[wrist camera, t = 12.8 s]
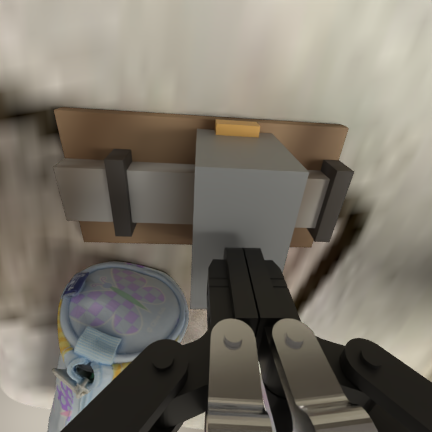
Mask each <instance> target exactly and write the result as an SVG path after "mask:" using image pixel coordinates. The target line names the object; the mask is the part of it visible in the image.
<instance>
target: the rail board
mask: <svg viewBox="0 0 432 432" xmlns="http://www.w3.org/2000/svg"><path fill="white" fill-rule="evenodd" d="M54 113H55V117H56V122H57V126H58V130H59V135H60V139H61V144H62V148H63V152H64V157H65V159H63V160H62V161H61V162H59V163H58V164H56V165H55V166H54V167H53V169H54V173H55V177H56V181H57V185H58V188H59V192H60V196H61V200H62V204H63V208H64V212H65V216H66V220H67V221H79V222H80V227H81V231H82V235H83V240H84V242H108V243H149V244H190V245H192V243H193V213H194V183H195V158H196V137H197V129H209V130H215V119H220V120H235V121H250V122H257V123H258V124H259V125H260V132H259V133H272V134H273V135H274V136H275V137H276V138H277V139H278V140H279V141H280V142H281V143H282V144H283V145H284V146H285V147H286V149H287V150H288V151H289V152H290V153H291V154H292V155H293V156H294V157H295V158H296V159H297V160H298V161H299V162H300V163H301V164H302V165H303V166H304V167H305V168H306V169H307V171H308V172H309V175H308V179H307V182H306V186H305V190H304V194H303V197H302V201H301V205H300V209H299V212H298V216H297V220H296V224H295V228H294V231H293V235H292V239H291V243H290V246H289V247H311V246H312V243H313V240H314V241H315V242H329V241H330V239H331V236H332V233H333V230H334V227H335V225H336V222H337V219H338V216H339V213H340V210H341V208H342V205H343V202H344V199H345V196H346V193H347V191H348V188H349V185H350V182H351V179H352V176H353V174H354V171H353V170H351V169H350V168H348V167H347V166H346V165H344V164H343V163H342V162H340V161H339V157H340V154H341V151H342V148H343V145H344V141H345V138H346V135H347V132H348V129H349V128H347V127H345V126H343V125H340V124H324V123H308V122H292V121H276V120H260V119H244V118H228V117H212V116H196V115H180V114H164V113H148V112H132V111H116V110H100V109H84V108H68V107H61V108H58V109H55V110H54Z"/></svg>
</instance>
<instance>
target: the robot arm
mask: <svg viewBox="0 0 432 432" xmlns="http://www.w3.org/2000/svg"><path fill="white" fill-rule="evenodd" d="M207 324H208V330H207V332H206V333H205V334H204V335H203V336H202V337H201V338H200V339H198V340H196V341H194V342H191V343H188V344H185V345H181V344H180V343H179V342H177V341H175V340H171V339H161V340H158V341H155V342H153V343H151V344H150V345H148V346H147V347H146V348H145V349H144V350H143V351H142V352H141V353H140V354H139V355H138V356H137V357H136V358H135V359H134V360H133V361H132V362H131V363H130V364H129V365H128V366H127V367H126V368H125V369H124V370H123V371H122V372H121V373H120V374H119V375H117V376H116V377H115V378H114V379H113V380H112V381H111V382H110V383H109V384H108V385H107V386H106V387H105V388H104V389H103V390H102V391H101V392H100V393H99V394H98V395H97V396H96V397H95V398H94V399H93V400H92V401H91V402H90V403H89V404H88V405H87V406H86V407H85V408H84V409H83V410H82V411H81V412H80V413H79V414H78V415H77V416H76V417H75V418H74V419H73V420H71V421H70V422H69V423H68V424H67V425H66V426H65V427H64V428H63V429H62V430H61V431H60V432H177V431H178V430H179V428H180V427H181V426H182V424H183V422H184V421H186V420H188V419H190V418H193V417H195V416H197V415H199V414H201V413H204V412H205V424H204V432H432V382H430V381H429V380H427V379H426V378H424V377H423V376H422V375H420V374H419V373H417V372H416V371H414V370H413V369H412V368H410V367H409V366H407V365H406V364H404V363H403V362H402V361H400V360H399V359H397V358H396V357H394V356H393V355H392V354H390V353H389V352H387V351H386V350H384V349H383V348H381V347H380V346H379V345H377V344H375V343H373V342H371V341H369V340H366V339H361V338H355V339H352V340H350V341H349V342H348V343H347V344H346V346H343V345H340V344H336V343H333V342H330V341H326V340H323V339H321V338H319V337H317V336H315V335H314V333H313V331H312V330H311V329H310V328H309V327H308V326H307V325H305V324H304V323H302V322H301V320H300V318H299V315H298V313H297V310H296V307H295V305H294V302H293V300H292V297H291V295H290V292H289V289H288V288H287V284H286V282H285V280H284V276H283V274H282V271H281V269H280V268H279V267H278V265H277V264H276V263H275V262H274V261H273V260H264V257H263V254H262V251H261V249H260V248H234V247H225V249H224V257H223V259H213V260H212V262H211V264H210V266H209V267H208V279H207ZM258 361H259V363H260V368H261V373H260V372H259V364H258ZM263 400H264V404H265V408H266V411H265V408H264V404H263Z"/></svg>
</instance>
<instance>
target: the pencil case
mask: <svg viewBox="0 0 432 432" xmlns="http://www.w3.org/2000/svg"><path fill="white" fill-rule="evenodd" d="M188 320H189V311H188V306H187V302H186V299H185V296H184V294H183V292H182V290H181V288H180V287H179V286H178V284H177V283H176V282H175V281H174V280H173V279H172V278H171V277H170V276H169V275H167V274H166V273H164V272H161V271H159V270H156V269H152V268H149V267H145V266H141V265H137V264H132V263H127V262H104V263H99V264H96V265H93V266H90V267H88V268H86V269H85V270H83V271H81V272H79V273H77V274H75V275H74V277H73V278H72V279H71V281H70V282H69V283H68V284H67V286H66V287H65V289H64V291H63V294H62V296H61V299H60V303H59V308H58V317H57V323H58V339H59V348H60V356H59V361H58V367H57V369H56V368H54V369H52V371H53V373H54V375H55V376H56V392H55V396H54V401H53V405H52V409H51V413H50V417H49V423H48V431H47V432H60V431H61V430H62V429H63V428H64V427H65V426H66V425H67V424H68V423H69V422H70V421H71V420H73V419H74V418H75V417H76V416H77V415H78V414H79V413H80V412H81V411H82V410H83V409H84V408H85V407H86V406H87V405H88V404H89V403H90V402H91V401H92V400H93V399H94V398H95V397H96V396H97V395H98V394H99V393H100V392H101V391H102V390H103V389H104V388H105V387H106V386H107V385H108V384H109V383H110V382H111V381H112V380H113V379H114V378H115V377H116V376H117V375H119V374H120V373H121V372H122V371H123V370H124V369H125V368H126V367H127V366H128V365H129V364H130V363H131V362H132V361H133V360H134V359H135V358H136V357H137V356H138V355H139V354H140V353H141V352H142V351H143V350H144V349H145V348H146V347H147V346H148V345H150V344H151V343H153V342H155V341H158V340H161V339H171V340H175V341H177V342H179V343H180V342H181V341H182V339H183V336H184V334H185V332H186V329H187V325H188Z"/></svg>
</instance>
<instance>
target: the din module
mask: <svg viewBox="0 0 432 432" xmlns="http://www.w3.org/2000/svg"><path fill="white" fill-rule="evenodd" d="M259 132H260V125H259V124H258V123H257V122H250V121H235V120H220V119H215V130H209V129H197V137H196V158H195V183H194V213H193V243H192V272H191V302H190V309H207V279H208V267H209V266H210V264H211V262H212V260H213V259H223V257H224V249H225V247H234V248H260V249H261V251H262V254H263V257H264V260H273V261H274V262H275V263H276V264H277V265H278V267H279V268H280V269H281V271H282V273H283V269H284V265H285V261H286V258H287V254H288V250H289V246H290V243H291V239H292V235H293V231H294V228H295V224H296V220H297V216H298V212H299V209H300V205H301V201H302V197H303V194H304V190H305V186H306V182H307V179H308V175H309V172H308V171H307V169H306V168H305V167H304V166H303V165H302V164H301V163H300V162H299V161H298V160H297V159H296V158H295V157H294V156H293V155H292V154H291V153H290V152H289V151H288V150H287V149H286V147H285V146H284V145H283V144H282V143H281V142H280V141H279V140H278V139H277V138H276V137H275V136H274V135H273V134H272V133H259Z"/></svg>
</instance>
